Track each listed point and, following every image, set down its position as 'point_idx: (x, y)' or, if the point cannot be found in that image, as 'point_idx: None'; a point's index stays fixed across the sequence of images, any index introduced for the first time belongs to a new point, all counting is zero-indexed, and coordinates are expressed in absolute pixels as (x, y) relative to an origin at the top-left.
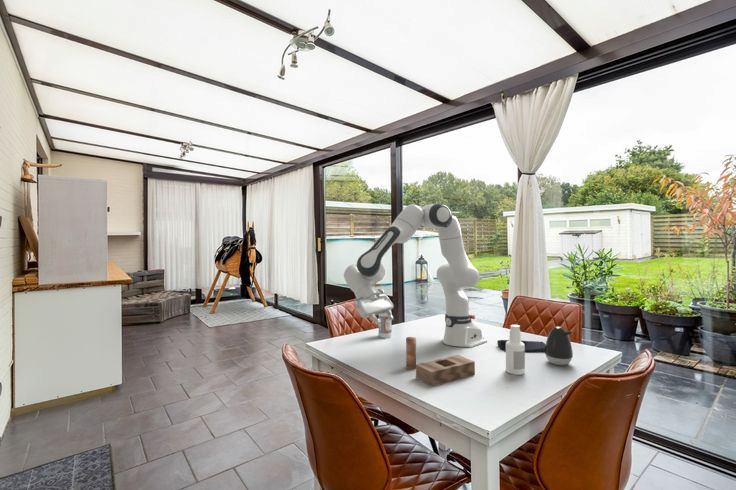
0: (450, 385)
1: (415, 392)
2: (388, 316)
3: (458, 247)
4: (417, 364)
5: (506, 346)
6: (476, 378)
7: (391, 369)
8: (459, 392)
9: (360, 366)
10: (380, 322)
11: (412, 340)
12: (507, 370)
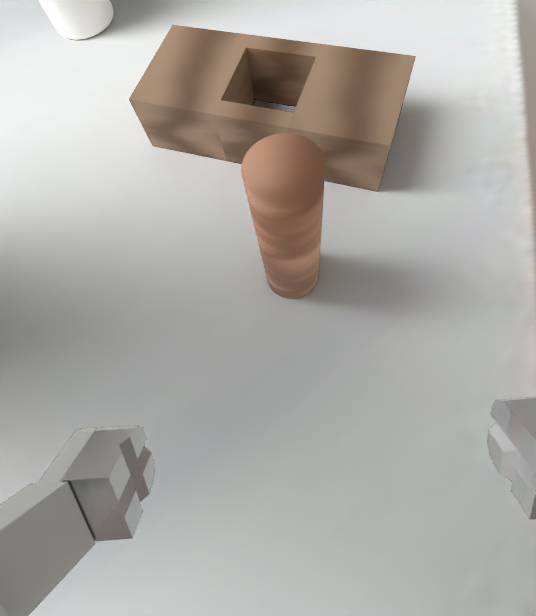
0: None
1: (494, 116)
2: (74, 561)
3: None
4: (384, 140)
5: None
6: None
7: (386, 334)
8: (367, 39)
9: (506, 522)
10: (503, 402)
11: (307, 144)
12: (102, 21)
